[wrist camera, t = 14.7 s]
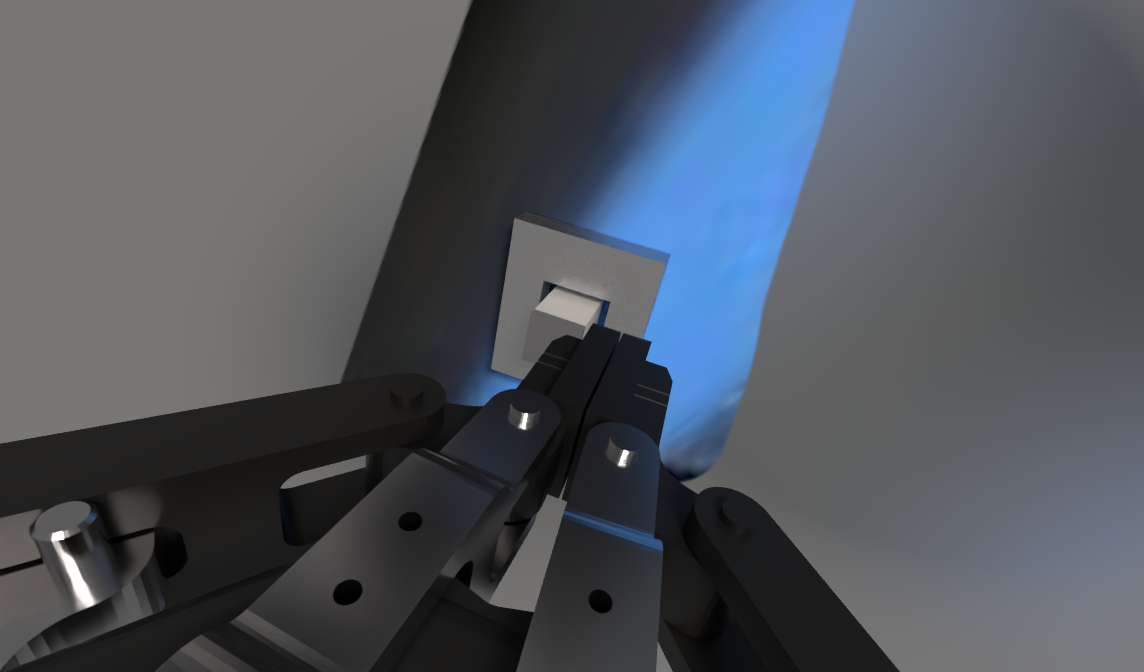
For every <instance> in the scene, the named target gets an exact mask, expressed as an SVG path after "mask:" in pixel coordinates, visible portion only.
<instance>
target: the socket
mask: <svg viewBox="0 0 1144 672" xmlns="http://www.w3.org/2000/svg"><path fill="white" fill-rule="evenodd" d="M669 257H670V254H667V253H663V252H660V251H657V250H653V249H650V248H646V247H643V246H640V245H636V244H633V243H630V242H626V241H623V240H620V239H616V238H613V237H610V236H606V235H603V234H599V233H596V232H593V231H589V230H586V229H583V228H579V227H576V226H573V225H569V224H566V223H562V222H559V221H556V220H552V219H549V218H546V217H542V216H539V215H536V214H532V213H529V212H525V213H523V214H521V215H520V216H518V217H516V218H515V219H514V225H513V231H512V238H511V244H510V251H509V257H508V263H507V270H506V276H505V283H504V289H503V295H502V302H501V308H500V315H499V321H498V327H497V334H496V340H495V346H494V353H493V359H492V366H491V369H493V370H495V371H498V372H501V373H504V374H507V375H510V376H512V377H515V378H518V379H521V380H523V379H524V378H525V377H526V375H527V374H528V373H529V371H530V370H531V369H532V367H533V366H534V365H535V364H534V363H531V362H528V361H526V360H523V359H522V355H523V350H524V345H525V340H526V335H527V330H528V325H529V320H530V315H531V312H532V311H533V310H534V309H535V308H536V307H537V306H538V305H539V304H540V303H541V302H542V301H543V300H544V299H545V298H546V297H547V295H548V294H549V290H550V285H551V283H553V284H556V285H559V286H562V287H565V288H568V289H572V290H575V291H578V292H581V293H584V294H587V295H590V296H594V297H597V298H600V299H603V300H606V301H609V302H610V305H609V309H608V313H607V316H606V320H605V324H604V326H605V327H608V328H611V329H614V330H617V331H620V332H621V336H620V339H621V337H622V334H623V333H626V334H629V335H632V336H635V337H639V338H642V339H643V337H644V334H645V331H646V328H647V325H648V322H649V318H650V315H651V312H652V309H653V306H654V303H655V300H656V297H657V294H658V291H659V288H660V284H661V281H662V278H663V275H664V272H665V269H666V266H667V263H668V260H669ZM619 341H620V340H619Z"/></svg>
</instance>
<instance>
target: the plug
mask: <svg viewBox="0 0 1144 672" xmlns="http://www.w3.org/2000/svg"><path fill="white" fill-rule="evenodd" d="M603 302H604V300H603V299H600V298H597V297H594V296H590V295H587V294H584V293H581V292H578V291H575V290H572V289H568V288H565V287H562V286H559V285H557V286H556V287H555V288H554V289H553V290H552V291H551V292H550V293H549V294H548V295H547V297H546V298H545V299H544V300H543V301H542V302H541V303H540V304H539V305H538V306H537V307H536V308H535V309H534V310H533V311H532V312H531V315H530V320H529V325H528V330H527V335H526V340H525V345H524V350H523V355H522V359H523V360H526V361H528V362H531V363H534V364H535V363H536V362H538V359H539V358H540V357H541V355H542V354H543V353H544V351H545V350H546V348H547V347H548V346H549V344H550V343H551V342H552V341H553V340H555V339H558V338H560V337H562V336H564V335H570V336H573V337H576V338H579V339H582V340H583V338H584V336H585V335H586V333H587V332H588V330H589V328H590V327H591V325H592V324H593V323H596V324H598V320H599V317H600V313H601V309H602V306H603Z"/></svg>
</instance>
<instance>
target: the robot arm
mask: <svg viewBox="0 0 1144 672" xmlns="http://www.w3.org/2000/svg"><path fill="white" fill-rule="evenodd" d="M620 336H621V332H620V331H617V330H614V329H611V328H608V327H605V326H602V325H599V324H596V323H593V324H592V325H591V327H590V328H589V330H588V332H587V333H586V335H585V336H584V338H583V340H582V339H579V338H576V337H573V336H570V335H564V336H562V337H560V338H558V339H555V340H553V341H552V342H551V343H550V344H549V346H548V347H547V348H546V350H545V351H544V353H543V354H542V355H541V357H540V358H539V359H538V362H536V363H535V365H534V366H533V367H532V369H531V370H530V371H529V373H528V374H527V375H526V377H525V378H524V379H523V381H522V382H521V383H520V385H519V386H518V387H517V389H510V390H505V391H502V392H500V393H498V394H496V395H495V396H494V397H492V398H491V399H490V401H489V402H488V403H487V404H486V405H485V406H466V405H458V404H450V403H445V400H446V394H445V390H444V388H443V387H442V386H441V385H440V384H439V383H438V382H437V381H435V380H434V379H432V378H430V377H427V376H424V375H420V374H415V373H397V374H391V375H385V376H379V377H374V378H368V379H362V380H357V381H351V382H346V383H340V384H334V385H329V386H323V387H318V388H312V389H306V390H301V391H296V392H289V393H284V394H279V395H273V396H267V397H261V398H256V399H251V400H244V401H239V402H233V403H227V404H222V405H216V406H210V407H205V408H199V409H194V410H188V411H182V412H177V413H171V414H165V415H160V416H154V417H149V418H143V419H138V420H132V421H127V422H121V423H115V424H109V425H103V426H99V427H93V428H87V429H81V430H75V431H70V432H64V433H58V434H53V435H47V436H42V437H36V438H31V439H25V440H19V441H13V442H8V443H2V444H0V672H656V664H657V647H658V642H659V644H660V646H661V649H662V651H663V653H664V655H665V657H666V659H667V661H668V663H669V665H670V667H671V669H672V671H673V672H900V671H899V670H898V669H897V668H896V667H895V665H894V664H893V663H892V662H891V661H890V659H889V658H888V657H887V656H886V654H885V653H884V652H883V651H882V650H881V648H880V647H879V646H878V645H877V644H876V643H875V641H874V640H873V639H872V638H871V636H870V635H869V634H868V633H867V632H866V631H865V629H864V628H863V627H862V626H861V624H860V623H859V622H858V621H857V620H856V618H855V617H854V616H853V615H852V614H851V612H850V611H849V610H848V609H847V608H846V606H845V605H844V604H843V603H842V602H841V600H840V599H839V598H838V597H837V596H836V594H835V593H834V592H833V591H832V589H831V588H830V587H829V586H828V585H827V583H826V582H825V581H824V580H823V579H822V577H821V576H820V575H819V574H818V573H817V571H816V570H815V569H814V568H813V567H812V565H811V564H810V563H809V562H808V561H807V559H806V558H805V557H804V556H803V555H802V553H801V552H800V551H799V550H798V549H797V547H796V546H795V545H794V544H793V543H792V541H791V540H790V539H789V538H788V537H787V535H786V534H785V533H784V532H783V531H782V529H781V528H780V527H779V526H778V525H777V523H776V522H775V521H774V520H773V519H772V518H771V516H770V515H769V514H768V513H767V511H766V510H765V509H764V508H763V507H762V506H760V505H759V504H758V503H757V502H756V501H754V500H753V499H752V498H750V497H748V496H746V495H745V494H743V493H740V492H738V491H736V490H733V489H729V488H724V487H711V488H707V489H705V490H703V491H701V492H700V493H699V494H697V493H695V492H693V491H692V490H690V489H689V488H687V487H686V486H684V485H683V484H681V483H680V482H679V481H677V480H676V479H675V478H674V477H673V476H672V475H671V474H670V473H669V472H668V471H667V470H666V468H665V467H664V465H663V463H662V461H661V459H660V451H659V444H660V439H661V434H662V429H663V425H664V420H665V415H666V411H667V405H668V401H669V395H670V392H671V387H672V382H673V381H672V379H671V377H670V374H669V372H668V370H667V368H666V367H663V366H660V365H657V364H654V363H651V362H648V361H645V360H646V357H647V354H648V351H649V348H650V345H651V341H648V340H645V339H642V338H639V337H635V336H632V335H629V334H626V333H623V334H622V337H621V339H620ZM619 340H620V341H619ZM364 455H366V467H365V468H361V469H358V470H354V471H351V472H347V473H344V474H340V475H336V476H333V477H329V478H325V479H322V480H318V481H315V482H311V483H307V484H304V485H300V486H297V487H293V488H287V489H281V486H282V484H283V483H284V482H285V481H286V480H287V479H289V478H290V477H292V476H293V475H295V474H298V473H300V472H303V471H307V470H311V469H315V468H318V467H322V466H326V465H330V464H334V463H337V462H341V461H345V460H348V459H353V458H356V457H360V456H364ZM567 478H568V479H567ZM566 480H567V483H566ZM565 483H566V486H565V490H564V494H563V497H562V500H565V501H567V504H566V508H565V510H564V514H563V517H562V520H561V524H560V527H559V530H558V534H557V537H556V540H555V544H554V547H553V550H552V554H551V557H550V561H549V564H548V567H547V571H546V574H545V577H544V581H543V584H542V587H541V591H540V594H539V597H538V600H537V604H536V607H535V611H534V612H529V611H523V610H516V609H510V608H503V607H498V606H494V605H491V604H489V601H490V599H491V597H492V595H493V594H494V592H495V590H496V588H497V587H498V585H499V583H500V581H501V580H502V578H503V576H504V574H505V573H506V571H507V569H508V568H509V566H510V564H511V563H512V561H513V559H514V557H515V556H516V554H517V552H518V550H519V549H520V547H521V545H522V544H523V542H524V540H525V539H526V537H527V535H528V533H529V532H530V530H531V528H532V526H533V524H534V522H535V519H536V515H537V512H538V511H539V510H540V508H541V507H542V505H543V503H544V500H545V498H546V496H547V494H549V495H551V496H554V497H556V498H559V496H560V494H561V492H562V489H563V487H564V485H565Z"/></svg>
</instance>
